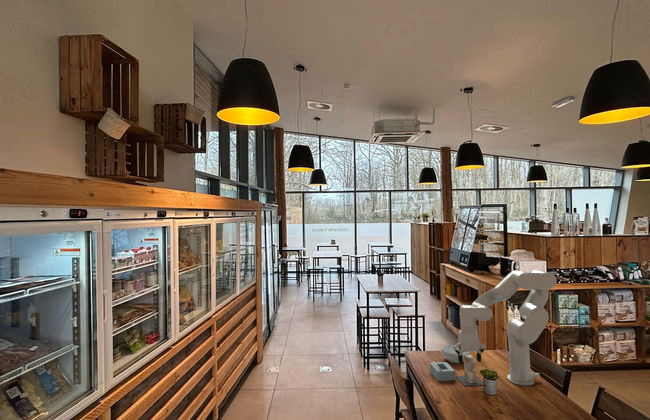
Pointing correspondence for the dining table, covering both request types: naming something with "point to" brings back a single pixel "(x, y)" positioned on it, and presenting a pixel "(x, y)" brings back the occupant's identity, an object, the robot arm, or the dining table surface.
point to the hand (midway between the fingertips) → (469, 361)
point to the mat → (467, 383)
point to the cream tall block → (470, 368)
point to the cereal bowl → (451, 353)
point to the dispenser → (442, 371)
